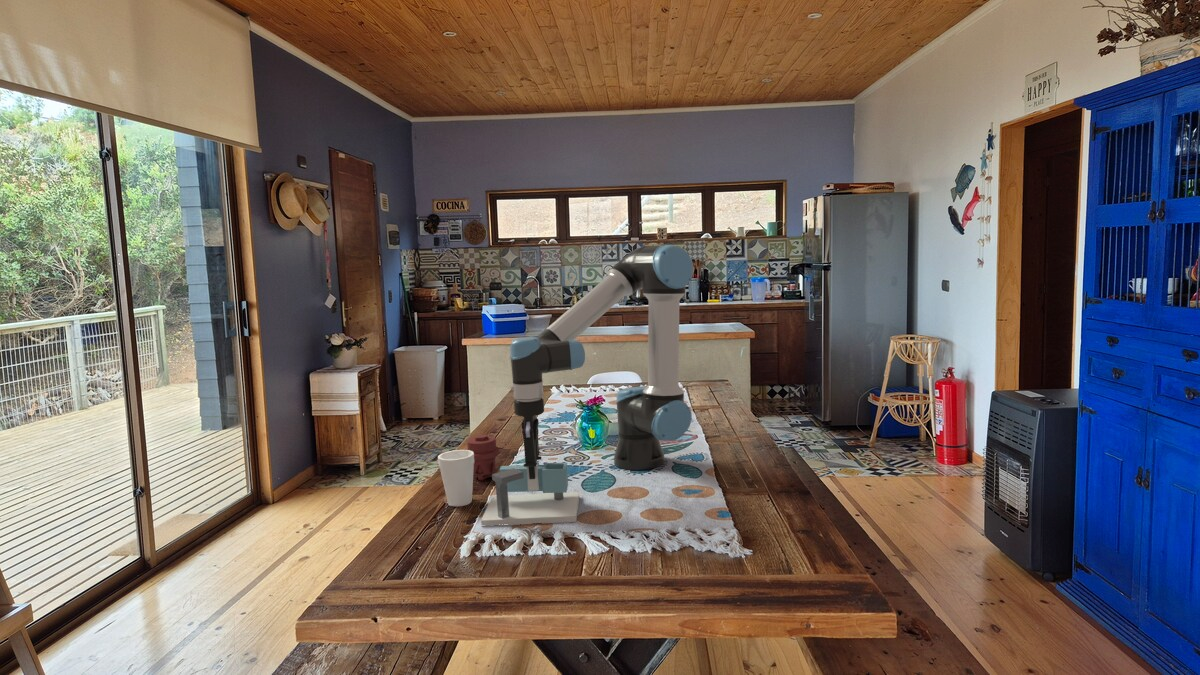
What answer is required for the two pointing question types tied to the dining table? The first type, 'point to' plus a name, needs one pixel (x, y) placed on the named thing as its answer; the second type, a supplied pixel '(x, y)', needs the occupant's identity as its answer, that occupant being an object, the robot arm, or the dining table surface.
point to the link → (541, 478)
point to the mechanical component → (483, 455)
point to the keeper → (504, 489)
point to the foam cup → (457, 476)
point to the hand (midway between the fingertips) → (534, 487)
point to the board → (535, 509)
